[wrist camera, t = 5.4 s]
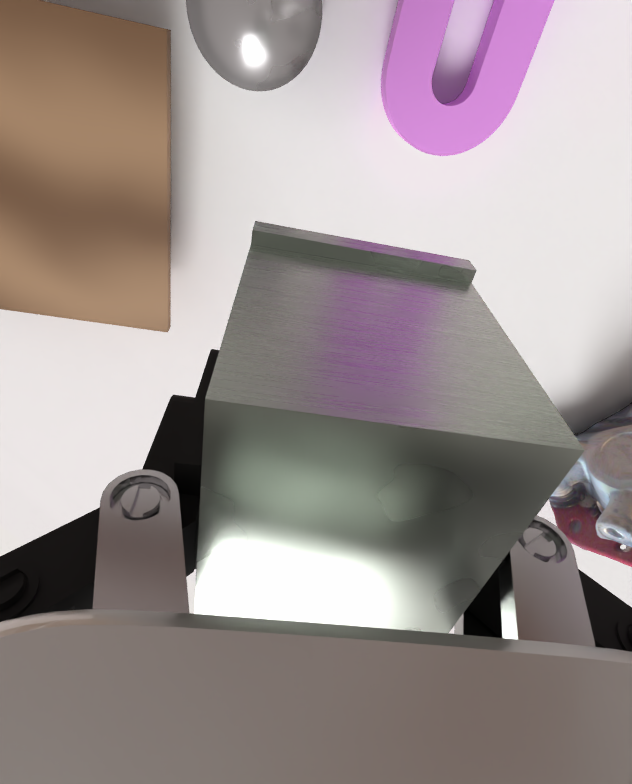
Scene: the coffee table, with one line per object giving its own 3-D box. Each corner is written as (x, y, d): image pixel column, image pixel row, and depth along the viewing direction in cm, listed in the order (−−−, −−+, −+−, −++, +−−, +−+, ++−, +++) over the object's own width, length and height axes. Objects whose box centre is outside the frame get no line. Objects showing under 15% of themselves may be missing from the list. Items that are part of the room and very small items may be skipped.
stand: (-155, -44, 17) (-231, -62, 14) (183, 33, 18) (166, 29, 16) (-60, 270, 24) (-101, 295, 21) (180, 306, 25) (167, 332, 23)
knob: (208, -72, 17) (187, -104, 13) (326, -40, 17) (334, -64, 14) (203, 73, 19) (184, 76, 16) (306, 96, 20) (309, 103, 17)
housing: (255, 221, 10) (206, 378, 5) (468, 260, 11) (597, 433, 6) (228, 481, 15) (190, 681, 10) (374, 498, 16) (401, 695, 11)
